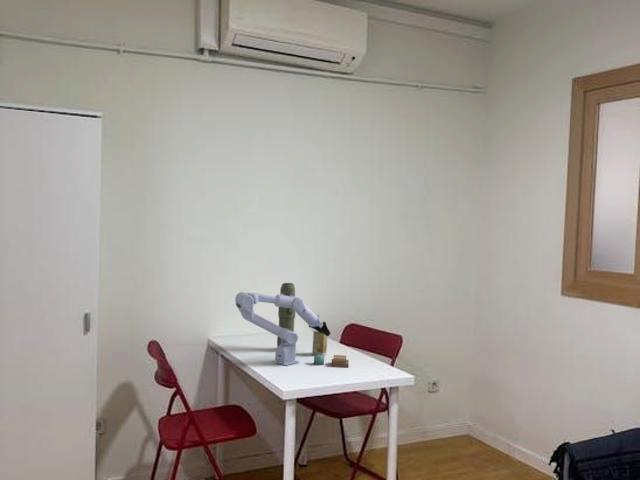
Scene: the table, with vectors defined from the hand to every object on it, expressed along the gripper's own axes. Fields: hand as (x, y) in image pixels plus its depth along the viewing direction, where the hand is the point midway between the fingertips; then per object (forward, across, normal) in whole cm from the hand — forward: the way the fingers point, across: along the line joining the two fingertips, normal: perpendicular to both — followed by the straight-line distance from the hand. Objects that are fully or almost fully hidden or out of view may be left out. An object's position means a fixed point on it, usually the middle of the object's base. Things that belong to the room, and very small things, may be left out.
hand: (325, 333), depth 279 cm
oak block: (+10, -11, +7) cm, 16 cm away
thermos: (0, +24, +18) cm, 30 cm away
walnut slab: (+11, -11, +8) cm, 18 cm away
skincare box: (+10, +10, +9) cm, 17 cm away
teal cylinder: (+4, -7, +14) cm, 16 cm away
